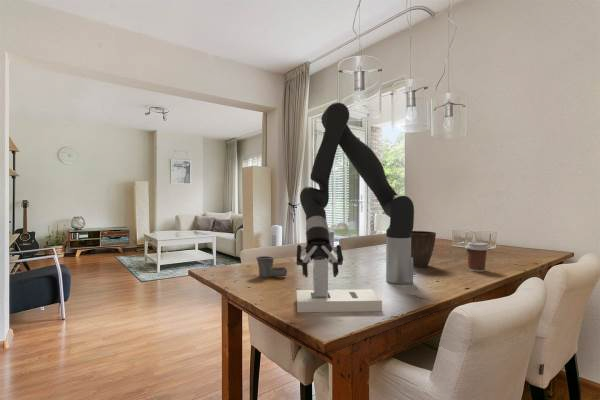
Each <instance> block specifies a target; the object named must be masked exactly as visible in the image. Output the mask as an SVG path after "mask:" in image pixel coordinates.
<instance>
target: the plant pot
mask: <svg viewBox="0 0 600 400" xmlns="http://www.w3.org/2000/svg"><path fill="white" fill-rule="evenodd" d="M436 237H437V233H436V232H434V231H427V230H426V231H425V230H412V233H411V257H412V258H413V267H415V268H426V267H427V268H428V266H429V264H430V261H431V258H432V255H433V252H434V247H435V243H436Z"/></svg>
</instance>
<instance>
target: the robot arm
mask: <svg viewBox="0 0 600 400" xmlns="http://www.w3.org/2000/svg"><path fill="white" fill-rule="evenodd" d="M349 119H350V111H349V108H348V107H347V105H346V104H344V103H342V102H334V103H331V104H330V105H329V106H328V107H326V109H325V110H324V111H323V113H322V116H321V125H322V126H323V128H324V133H323V137H322V139H321V143H320V145H319V148H318V151H317V153H316V155H315V159H314V161H313V165H312V167H311V173H310V180H311V181H312V182H314V183H316V184H317V185H318V188H316V187H312V186H304V187H303V188H302V189H301V192H300V194H299V201H300V204H301V207H302V210H303V211H304V214H305V223H306V224H305V238H306V239H305V241H306V245H305V246H301V245H300V244H298V245H297V246H296V265H297V266H301V268H302V276H304V278H308V276H309V274H308V272H309V271H308V264H310V263H311V262H312V261H313V258H315V257H326V258H327V259H328V264H331V266H332V275H333V278H337V276H338V275H339V266H342V265H343V263H344V262H343V261H344V256H343V252H342V247H341V246H342V245H340V244H337V245H336V246H332V245H331V242H330V241H331V239H330V232H329V225H328V222H327V213H326V209H325V208H326V207H327V206H328V204H329V201H330V189H329V188H330V177H331V173H332V169H333V166H334V162H335V158H336V154H337V150H338V146H339V147H340V148H341V150H342V151H343V153H344V154H345V156H346V157H347V159H348V160H349V162H350V163H351V165H352V166H353V168H354V169H355V171H356V173H358V175H359V176H360V178H362V180H363V181H364V183H365V184H366V186H367V187H368V188H369V189H370V191H372V193H373V195H374V196H375V198H376V200H377V201H378V203H379V205H380V206H381V209H382V210H383V211H384V214H385V215H386V216H387V217H389V218H390V219H389V226H388V228H386V233H385V242H386V243H385V244H386V245H385V255H386V256H385V278H386V279H385V280H386V282H388V283H391V284H397V285H409V284H413V283H414V266H413V258H412V257H411V233H412V231H414V224H415V223H414V222H415V221H414V220H415V206H414V202H413V201H412V199H411V198H410V197H409V196H407V195H403V194H401V195H399V194H398V193H397V192H396V191H395V189H393V187H392V186H391V184H390V182H389V181H388V179H387V175H386V172H385V169H384V167H383V163H382V162H381V160H380V159H379V158H378V156H377V155H376V153H375V152H374V151H373V150H372V148H370V147H369V145H367V144H366V143H365V142H364V141H362V140H361V139H360V138H358V137H357V136H356V135H355V134H354V133H353V131H352V130H351V129H350V126H348V122H349ZM304 252H305V253H306V256H305V257H304V258H303V259H302V258H301V257H302V254H304ZM332 252H333V253H334V254H333V253H332ZM334 255H336V257H337V258H336V257H335V256H334Z"/></svg>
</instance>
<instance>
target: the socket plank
mask: <svg viewBox="0 0 600 400" xmlns="http://www.w3.org/2000/svg"><path fill="white" fill-rule="evenodd" d="M296 308H297V313H337V312H338V313H339V312H340V313H342V312H343V313H346V312H348V313H349V312H350V313H352V312H353V313H355V312H361V313H363V312H383V300H382V299H381V298H380V297H379V296H378V294H377V293H376V292H374V290H373V289H371V288H370V289H328V298H313V289H304V290H303V289H299V290H298V289H297V290H296Z"/></svg>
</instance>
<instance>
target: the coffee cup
mask: <svg viewBox="0 0 600 400" xmlns="http://www.w3.org/2000/svg"><path fill="white" fill-rule="evenodd" d="M465 249H466V254H467V264H468V265H467V267H468V270H469V271H472V272H478V273H479V272H481V273H483V272H485V271H486V270H485V269H486V262H487V251H488V250H489V247H488V246H487V244H486V243H484V242H475V241H473V242H467V245H465Z"/></svg>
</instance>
